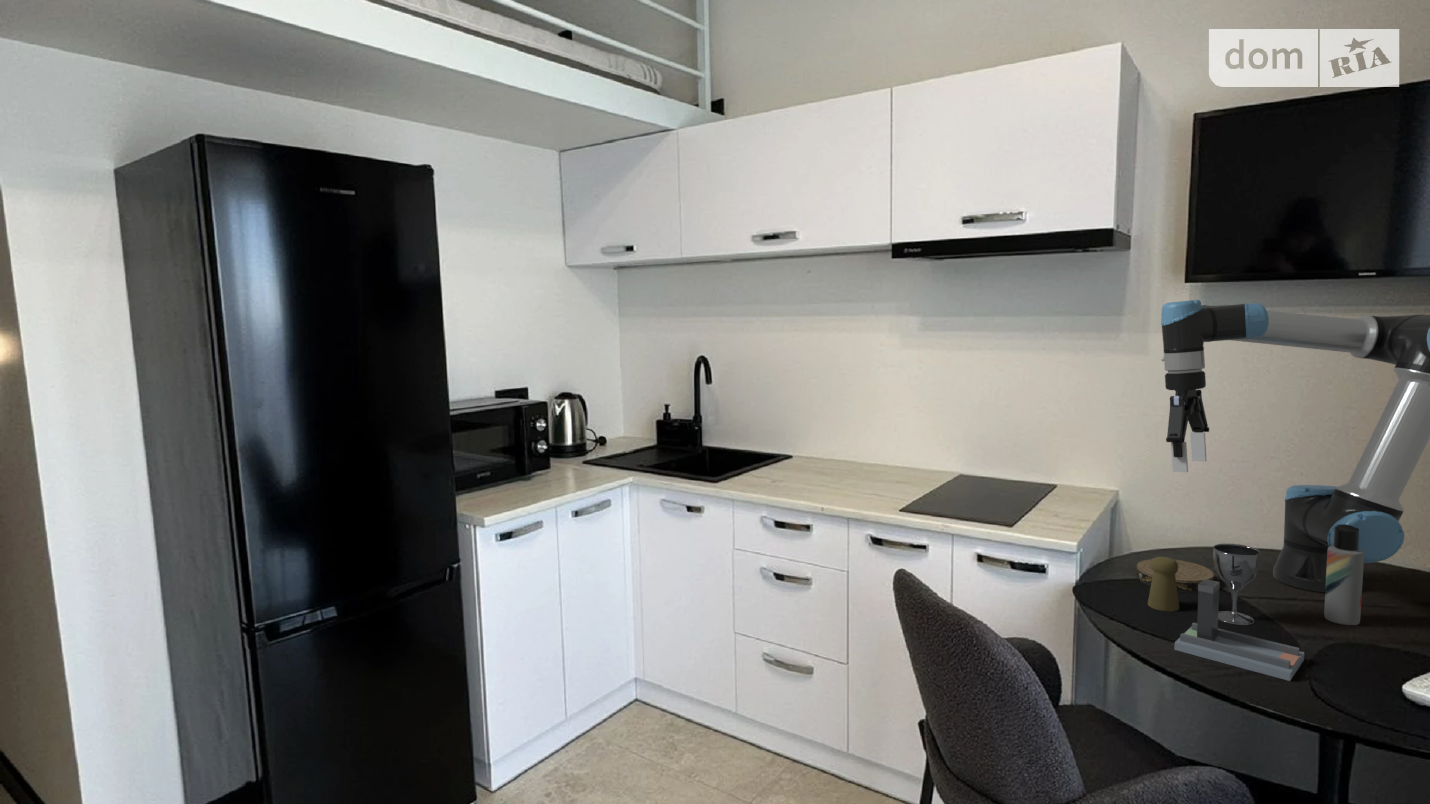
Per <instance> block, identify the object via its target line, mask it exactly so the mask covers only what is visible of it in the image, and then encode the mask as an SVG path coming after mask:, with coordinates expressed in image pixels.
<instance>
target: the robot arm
mask: <svg viewBox="0 0 1430 804" xmlns="http://www.w3.org/2000/svg"><path fill="white" fill-rule="evenodd" d="M1160 320H1161V322H1160V325H1161V333H1162V344H1163V356H1162V358H1161V359H1160V360H1161V362H1163V365H1164V370H1165V371H1166V372H1167V373H1165V374H1164V382H1165V389H1166V390H1168V391H1175V395H1171V396H1170V397H1169V412H1168V415H1169V416H1168V423H1167V424H1168V425H1167V437H1166V438H1165V442H1166V443H1170V446H1171V449H1170V450H1171V463H1172V466H1171V467H1172V472H1173V473H1188V472H1189V465H1188V463H1189V462H1188V450H1187V449H1188V447H1187V441H1186V435H1187V434H1186V433H1187V429H1188V424H1189V426H1190V429H1191V432H1190V449H1191V453H1190V454H1191V461H1192V462H1207V446H1206V445H1207V443H1206V433H1209V432H1210V427H1209V424H1208V420H1207V417H1206V411H1205V407H1204V402H1203V397H1202V389H1204V388H1206V386H1207V383H1206V372H1205V371H1203V369H1205V368H1206V364H1205V363H1206V360H1205V346H1204V344H1205V343H1211V342H1221V341H1235V342H1243V343H1244V342H1245V343H1253V344H1255V343H1256V344H1261V345H1263V344H1264V345H1273V346H1274V345H1275V346H1282V347H1283V346H1284V347H1292V348H1293V347H1294V348H1303V349H1311V350H1323V351H1331V352H1341V353H1350V355H1351V356H1352V357H1354V358H1355V359H1363V360H1365V359H1366V360H1371V361H1378V362H1381V363H1387V364H1391V365H1395V366H1394V368H1393V371H1394V373H1395V375H1396V376H1397V378H1398V380H1397V383H1396V385H1395V387H1394V389H1393V391H1392V393H1391V394H1390V397H1389V399H1388V400H1387V403H1386V405H1385V407H1384V410H1383V411H1382V413H1381V415H1380V417H1379V420H1378V422H1377V423H1376V426H1375V427H1374V430H1373V431H1372V433H1371V436H1370V438H1369V440H1368V442H1367V444H1366V446H1365V448H1364V449H1363V452H1362V454H1361V456H1360V458H1359V459H1358V462H1357V464H1356V466H1355V468H1354V471H1353V473H1352V474H1351V476H1350V479H1349V480H1348V482H1347V483H1345V484H1341V485H1339V486H1336V485H1335V486H1334V485H1322V484H1321V485H1319V484H1298V485H1296V484H1295V485H1291V486H1289V487H1288V488H1287V489H1286V491H1285V492H1286V493H1285V498H1284V523H1283V525H1284V527H1283V530H1284V531H1283V546H1282V549H1281V550H1280V552H1279V555H1278V557H1277V560H1276V562H1275V564H1274V565H1273V569H1272V570H1273V571H1272V573H1273V574H1272V577H1273V578H1274V579H1275V580H1276V581H1278V582H1280V583H1282V584H1284V585H1287V586H1290V587H1294V588H1297V589H1301V590H1306V591H1313V592H1319V593H1325V589H1326V570H1327V551H1328V547H1330V546H1333V544H1334V529H1335V527H1337V525H1340V524H1345V525H1350V526H1353V527H1355V528H1358V529H1359V546H1358V549H1360V550H1362V551H1363V552H1364V563H1363V564H1374V563H1378V562H1381V561H1385V560H1388V559H1389V558H1391V557H1393V556H1394V555H1396V553H1398V552H1399V551H1400V549H1401V548H1402V546H1403V544H1404V541H1405V531H1404V530H1403V526H1402V525H1401V523H1400V522H1399V521H1400V519H1402V518H1401V517H1402V515H1403V513H1404V511H1405V508H1404V506H1402V504H1401V502H1400V498H1401V496H1402V495H1403V492H1404V491H1405V489H1406V486H1407V485H1408V482H1409V480H1410V478H1411V476H1412V474H1413V472H1414V471H1415V469H1416V466H1417V465H1418V463H1419V461H1420V459H1421V456H1422V455H1423V452H1424V450H1426V447H1427V445H1428V443H1429V441H1430V314H1422V313H1421V314H1409V315H1393V316H1392V315H1391V316H1390V315H1389V316H1379V315H1368V314H1367V315H1366V314H1365V315H1362V316H1360V317H1359V318H1350V317H1349V318H1347V317H1339V316H1338V317H1337V316H1329V315H1328V316H1327V315H1317V314H1316V315H1315V314H1305V313H1304V314H1303V313H1294V312H1282V311H1274V310H1273V311H1271V310H1267V309H1266V307H1265V306H1264V305H1263V304H1262V303H1260V302H1259V303H1258V302H1256V303H1255V302H1254V303H1253V302H1251V303H1250V302H1249V303H1247V302H1244V303H1241V304H1239V303H1238V304H1221V305H1219V304H1218V305H1205V304H1203V305H1202V301H1200V299H1192V300H1181V301H1172V302H1166V303H1164V304H1163V305H1162V307H1161V319H1160Z"/></svg>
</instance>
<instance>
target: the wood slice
mask: <svg viewBox="0 0 1430 804" xmlns="http://www.w3.org/2000/svg"><path fill="white" fill-rule="evenodd" d="M1152 559H1153V558H1149V559H1143V560H1140V561H1138V563H1137V564H1136V577H1137V579H1138V580H1139V579H1140V580H1139V581H1141V582H1142V583H1144V584H1146V583H1147V584H1146V585H1149V586H1151V583H1152V577H1153V570H1152V569H1151V561H1152ZM1175 560H1176V562H1177V563H1178V571H1177V573H1176V574H1175V578H1176V585H1177V592H1183V593H1198V584H1200V583H1201V582H1202V581H1203V580H1204V579H1207V580H1212V581H1215V573H1214V572H1213V570H1212V569H1210V568H1208V567H1206V566H1204V565H1202V564H1198V563H1195V562H1192V561H1185V560H1181V559H1175Z"/></svg>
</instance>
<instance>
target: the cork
mask: <svg viewBox="0 0 1430 804" xmlns="http://www.w3.org/2000/svg"><path fill="white" fill-rule="evenodd" d="M1151 559H1152V561H1151V569H1152V570H1153V577H1152V583H1151V585H1150V588H1149V594H1148V595H1149V596H1148V600H1147V605H1148V606H1149V607H1150V608H1151V609H1154V610H1157V611H1162V612H1178V611H1179V610H1180V601H1179V595H1178V591H1177V585H1176V578H1175V574H1176V573H1177V571H1178V563H1177V562H1176V560H1177V559H1175V558H1172V557H1167V556H1156V557H1153V558H1151Z"/></svg>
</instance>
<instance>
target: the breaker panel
mask: <svg viewBox="0 0 1430 804" xmlns="http://www.w3.org/2000/svg"><path fill="white" fill-rule="evenodd" d="M1179 635H1180V637H1179V638H1177V640H1175V642H1174V651H1178V652H1181V653H1185V654H1190V655H1193V656H1196V657H1200V658H1204V659H1208V660H1212V661H1215V662H1218V663H1222V664H1226V665H1228V666H1229V665H1230V666H1233V667H1237V668H1241V669H1244V670H1247V671H1251V672H1254V673H1255V672H1256V673H1258V674H1263V675H1266V676H1271V677H1274V678H1278V679H1282V680H1285V681H1288V682H1291V680H1292V679H1293V677H1294V676H1295V675H1296V673H1297V672H1298V670H1299V668H1300V667H1301V666H1302V664H1303V662H1304V661H1305V652H1304V651H1300V647H1297V646H1292V645H1288V644H1284V643H1279V642H1276V641H1272V640H1267V639H1265V638H1264V639H1263V638H1259V637H1255V636H1252V635H1247V634H1243V633H1240V632H1235V631H1231V630H1226V629H1224V628H1223V629H1222V628H1219V627H1218V637H1217V638H1216V639H1215V640H1214V641H1211V640H1207V639H1203V638H1199V637H1197V622H1192V623H1191V626H1190V627H1189V628H1188V629H1187V630H1186V631H1185V632H1183V633H1180V634H1179Z"/></svg>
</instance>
